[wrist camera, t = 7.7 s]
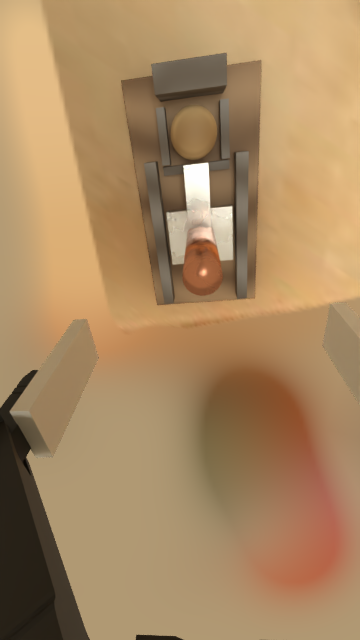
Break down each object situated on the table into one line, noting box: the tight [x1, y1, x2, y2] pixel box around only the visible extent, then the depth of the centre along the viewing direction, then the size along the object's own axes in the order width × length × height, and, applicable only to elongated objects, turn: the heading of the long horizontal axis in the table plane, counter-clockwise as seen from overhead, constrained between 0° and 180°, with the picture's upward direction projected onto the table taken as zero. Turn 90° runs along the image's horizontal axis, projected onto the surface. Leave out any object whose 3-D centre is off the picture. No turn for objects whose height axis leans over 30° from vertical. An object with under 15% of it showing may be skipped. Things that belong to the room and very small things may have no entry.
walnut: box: [170, 105, 217, 160], centre depth 28 cm, size 4×4×4 cm
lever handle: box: [166, 162, 233, 296], centre depth 28 cm, size 10×7×13 cm
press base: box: [121, 53, 261, 305], centre depth 32 cm, size 24×13×6 cm, turn 6°
